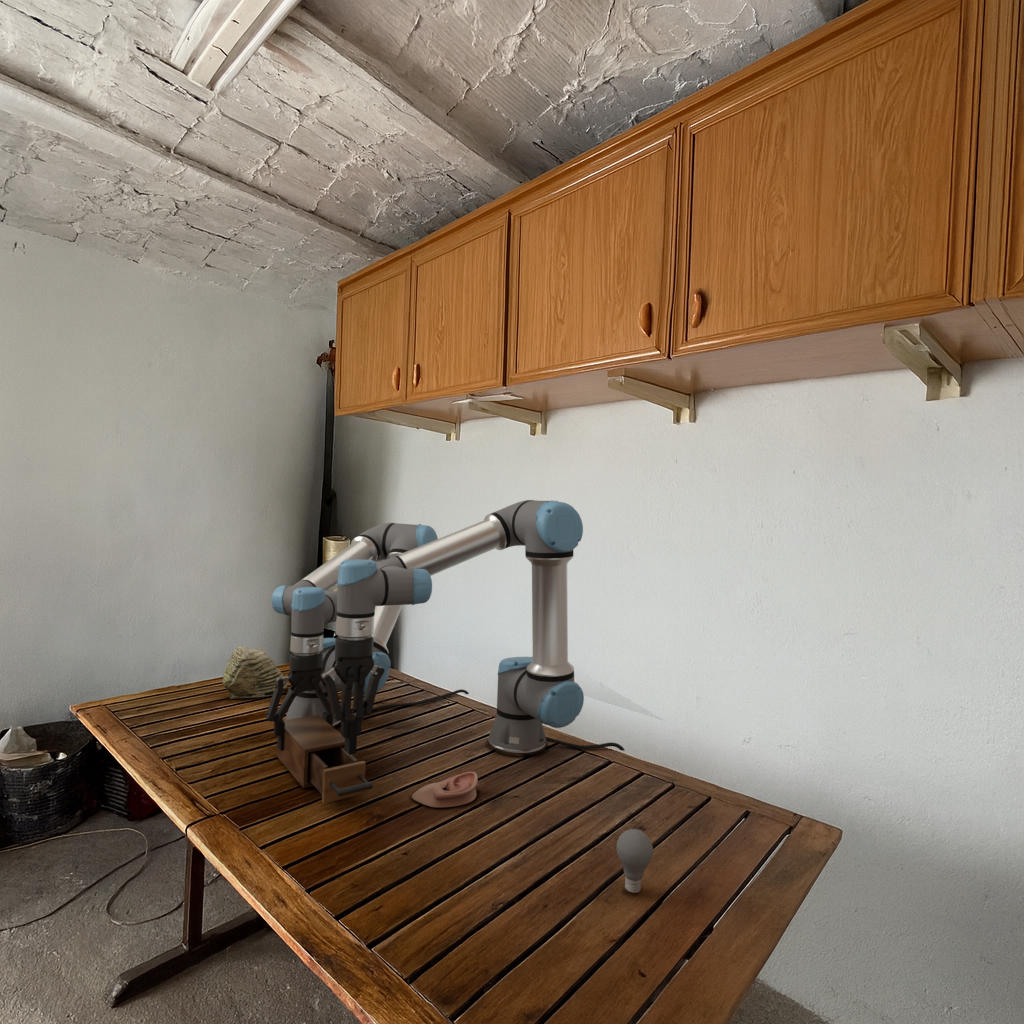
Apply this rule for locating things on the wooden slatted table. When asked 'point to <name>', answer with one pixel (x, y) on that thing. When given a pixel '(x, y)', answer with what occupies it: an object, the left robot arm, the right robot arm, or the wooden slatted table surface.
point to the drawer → (337, 774)
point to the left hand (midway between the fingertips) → (303, 744)
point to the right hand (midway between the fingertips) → (350, 751)
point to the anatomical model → (449, 791)
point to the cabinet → (306, 744)
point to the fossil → (250, 674)
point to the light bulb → (634, 857)
